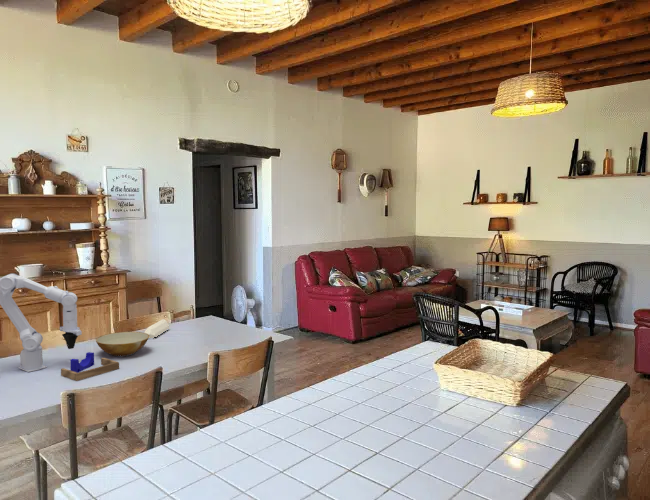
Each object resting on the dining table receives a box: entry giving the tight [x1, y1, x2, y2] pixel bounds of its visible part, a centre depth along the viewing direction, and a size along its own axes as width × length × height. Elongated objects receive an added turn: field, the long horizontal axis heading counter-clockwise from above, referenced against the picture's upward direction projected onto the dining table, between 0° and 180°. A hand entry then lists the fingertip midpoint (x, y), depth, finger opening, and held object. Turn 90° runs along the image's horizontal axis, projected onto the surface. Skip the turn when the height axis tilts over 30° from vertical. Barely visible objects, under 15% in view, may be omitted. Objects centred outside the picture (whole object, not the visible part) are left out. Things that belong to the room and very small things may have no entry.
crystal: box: [143, 318, 170, 339], centre depth 283 cm, size 7×7×24 cm
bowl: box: [95, 331, 149, 357], centre depth 245 cm, size 25×25×8 cm
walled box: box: [60, 357, 120, 382], centre depth 216 cm, size 12×20×3 cm, turn 147°
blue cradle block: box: [69, 351, 95, 373], centre depth 220 cm, size 12×4×6 cm, turn 169°
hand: (70, 348), depth 224 cm, fingers closed
